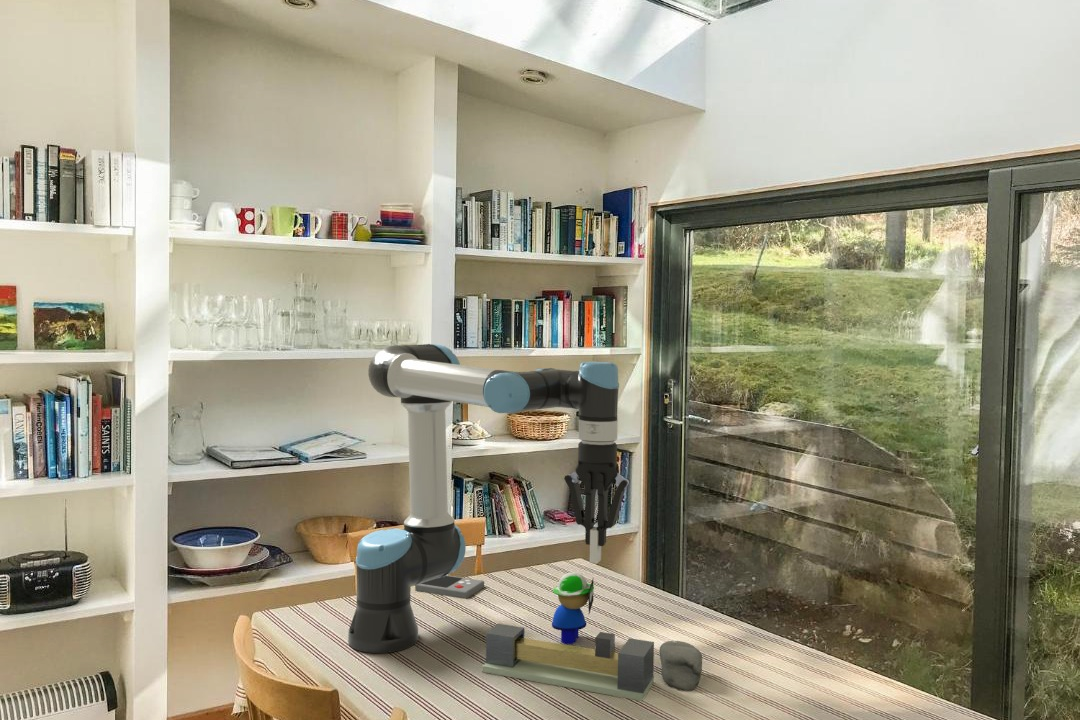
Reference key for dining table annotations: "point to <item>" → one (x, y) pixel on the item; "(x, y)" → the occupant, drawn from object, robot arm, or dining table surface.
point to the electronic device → (451, 586)
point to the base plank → (565, 678)
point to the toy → (572, 605)
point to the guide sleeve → (502, 645)
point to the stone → (680, 665)
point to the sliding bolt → (572, 654)
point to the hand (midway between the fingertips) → (595, 561)
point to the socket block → (635, 665)
